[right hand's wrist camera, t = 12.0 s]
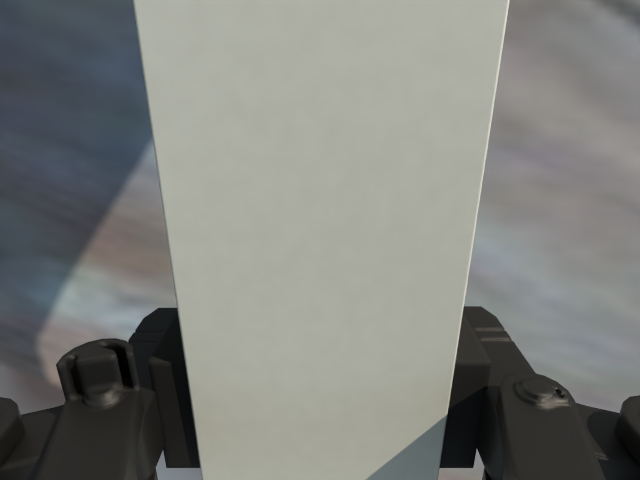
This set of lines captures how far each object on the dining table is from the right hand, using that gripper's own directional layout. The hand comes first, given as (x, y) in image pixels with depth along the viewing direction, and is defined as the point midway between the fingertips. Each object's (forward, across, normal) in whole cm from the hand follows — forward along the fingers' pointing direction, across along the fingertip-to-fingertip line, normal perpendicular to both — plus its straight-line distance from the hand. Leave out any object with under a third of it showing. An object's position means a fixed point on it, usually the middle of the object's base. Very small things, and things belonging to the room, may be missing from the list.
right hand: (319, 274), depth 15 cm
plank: (-1, 0, -12) cm, 13 cm away
